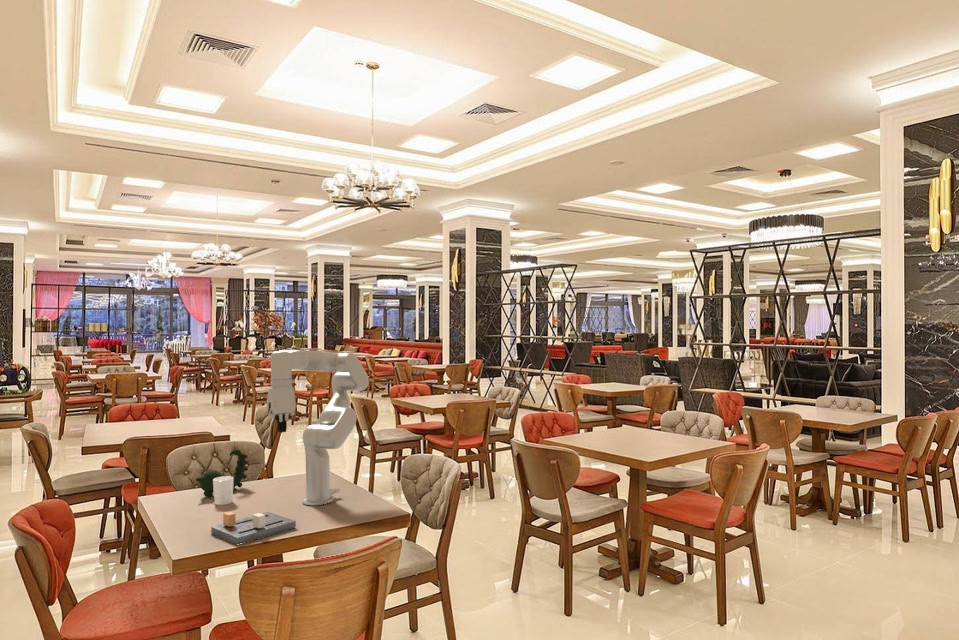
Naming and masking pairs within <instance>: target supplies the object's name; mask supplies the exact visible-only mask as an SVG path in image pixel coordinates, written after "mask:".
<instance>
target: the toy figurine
mask: <svg viewBox="0 0 959 640" xmlns="http://www.w3.org/2000/svg"><path fill="white" fill-rule="evenodd" d="M232 455H236V456H237V460H236V466H235V469H234V470H235V471H234V472H233V474H232V475H230V476H231V477H234V480H233V493H234V492H235V491H236V487H237V488H242V486H243V482H242V481H241V480H242V479H244V480H245V479H247V477H248V476H247V474H245V472H246V471H248V470H249V469H248V467H246V465H247V464H248V463H249V462H248V461H247V460H246V459H248V457H249V456H248V455H246V453H243V452H242V451H241V450H240V449H236V448H235V449H232V450H231V451H230V453H229V456H230V457H231V456H232ZM223 476H226V475H224V474H223V473H221V472H220V471H218V470H217V469H209V470H206V471H205V472H203V473H202V475H201V476H200V477H197V478H195V481H197V482H198V484H199V488H200V489H201V490H203V491H204V492H203V496H204V497H206V498H211V497H213V496H214V490H213V479H214V478H217V477H223Z"/></svg>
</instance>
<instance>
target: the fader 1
mask: <svg viewBox="0 0 959 640" xmlns="http://www.w3.org/2000/svg"><path fill="white" fill-rule="evenodd" d="M222 516H223V517H222V519H223V522H222V524H223V525H226V526H227V527H230V526H234V525H236V520H237V519H236V513H235V512H232V511H226V512H223V513H222Z"/></svg>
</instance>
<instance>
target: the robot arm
mask: <svg viewBox="0 0 959 640" xmlns="http://www.w3.org/2000/svg"><path fill="white" fill-rule="evenodd" d="M292 370H300V371H307V372H323V373H325V372H326V373H334V374H333V376H332V378H331V387H332V389H331V390H332V397H331V398H330V401H329V402H328V403H327V405H326V406H325V407H324V409H322V412H321V413H320V415H319V417H318V424H317V423H314V424H310V425H308V426H306V427H305V428H304V430H303V432H302V441H303V442H302V443H303V446H304V455H305V497H304V498H302V500H301V503H302V504H304V505H306V506H321V505H322V506H323V504H324V505H327V503H328V504H330V502H331V503H333V501H334V500H335V497H334V496H333V495H334V494H338V493H340V490H341V489H340V488H339V487H336V488H332V487H331V479H330V478H331V477H330V476H331V474H330V470H331V469H330V455H329V452H328V450H337V449H339V448H341V447H342V446H343V444H344V443H345V442H346V440H347V439H348V438H349V436H350V435H351V433H352V431H353V430H354V428H355V426H356V423H357V419H358V417H357V412H356V411H355V409H353V408H352V407H350V406H351V399H350V396H349V394H348V391H349V392H353V391H354V392H361V391H364V390H366V389H367V388H368V386H369V383H370V382H369V379H370V378H369V376H368V373H367V371H366V370H365V367H363V365H362V362H361V361H360V359H359V358H358V357H357V356H356V355H355V354H354V353H352V352H334V351H333V352H332V351H322V350H304V349H303V350H302V349H281V350H278V351H273V352H272V353H271V354H270V387H269V388H268V392H267V397H266V414H268V419H269V418H270V419H274V420H275V422H277V423H276V425H277V432H278V433H281V434H282V433H286V432H287V429H288V427H287V425H288V423H287V422H288V421H289V418H290V417H292V416H295V414H296V407H297V405H296V395H295V388H294V386H293V384H294V383H295V380H294V379H292V377H293V375H292V374H293V373H292V372H293V371H292Z"/></svg>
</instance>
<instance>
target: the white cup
mask: <svg viewBox="0 0 959 640" xmlns="http://www.w3.org/2000/svg"><path fill="white" fill-rule="evenodd" d="M231 476H232V475H225V476H223V477H217V478H214V479H213V490H214V492H213V498H214V500H213V501H214V505H217V506H224V505H229V504H232V503H233V497H234V492H233V480H234V477H231Z"/></svg>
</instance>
